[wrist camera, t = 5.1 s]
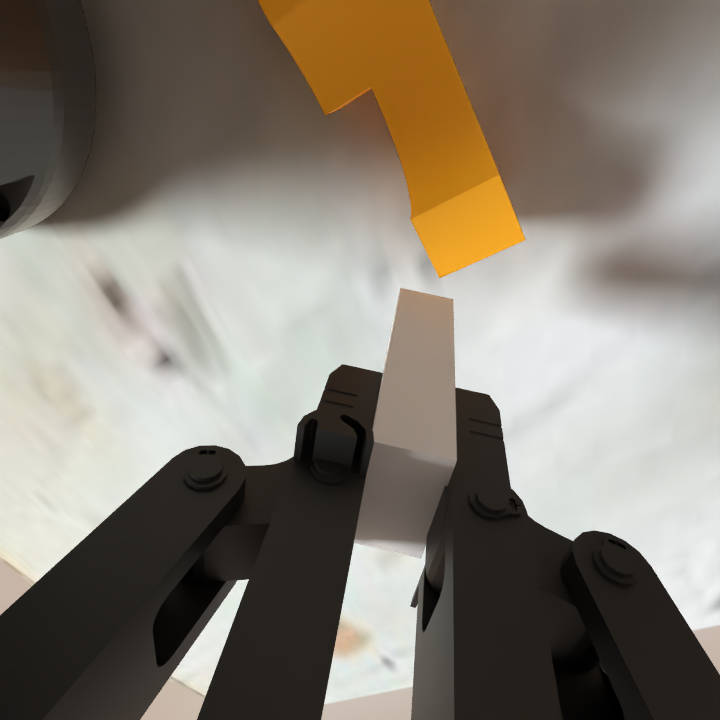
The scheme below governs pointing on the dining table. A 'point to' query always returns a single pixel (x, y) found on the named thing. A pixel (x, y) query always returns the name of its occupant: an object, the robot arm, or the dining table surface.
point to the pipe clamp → (408, 114)
